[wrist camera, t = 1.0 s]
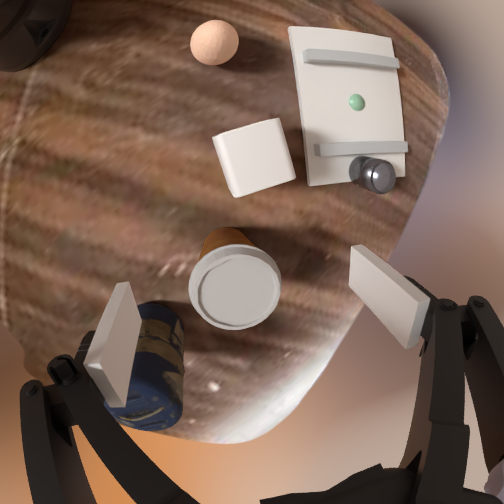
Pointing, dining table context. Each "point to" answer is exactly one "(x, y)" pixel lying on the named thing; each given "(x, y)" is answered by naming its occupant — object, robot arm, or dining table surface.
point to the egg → (214, 42)
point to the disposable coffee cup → (234, 281)
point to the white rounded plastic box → (254, 157)
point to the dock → (346, 101)
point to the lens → (372, 174)
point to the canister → (155, 372)
